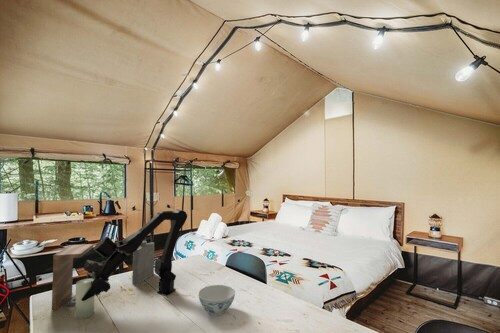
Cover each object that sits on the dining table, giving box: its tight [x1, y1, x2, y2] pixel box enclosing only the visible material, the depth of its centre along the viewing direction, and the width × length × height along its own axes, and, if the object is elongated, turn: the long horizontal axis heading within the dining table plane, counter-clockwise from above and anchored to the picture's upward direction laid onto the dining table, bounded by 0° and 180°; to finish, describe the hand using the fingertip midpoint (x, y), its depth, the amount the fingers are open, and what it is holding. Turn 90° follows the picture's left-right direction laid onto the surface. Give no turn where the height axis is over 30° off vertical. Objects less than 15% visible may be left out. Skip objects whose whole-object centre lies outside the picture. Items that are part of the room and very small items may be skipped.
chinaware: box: [198, 284, 236, 317], centre depth 109 cm, size 15×15×8 cm
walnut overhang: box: [51, 243, 101, 311], centre depth 118 cm, size 14×16×22 cm
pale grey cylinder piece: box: [74, 278, 95, 320], centre depth 106 cm, size 6×6×13 cm
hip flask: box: [131, 240, 155, 286], centre depth 142 cm, size 16×4×20 cm, turn 166°
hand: (81, 297), depth 105 cm, fingers closed on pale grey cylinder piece, 6 cm apart
